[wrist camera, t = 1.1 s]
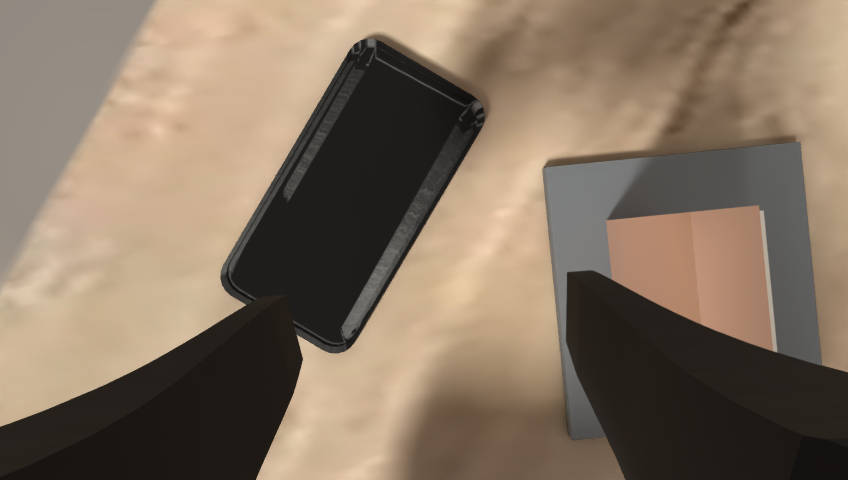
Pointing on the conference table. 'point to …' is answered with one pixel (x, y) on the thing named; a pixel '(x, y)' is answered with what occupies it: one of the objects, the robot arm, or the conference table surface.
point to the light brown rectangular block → (700, 268)
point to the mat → (678, 193)
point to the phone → (354, 193)
